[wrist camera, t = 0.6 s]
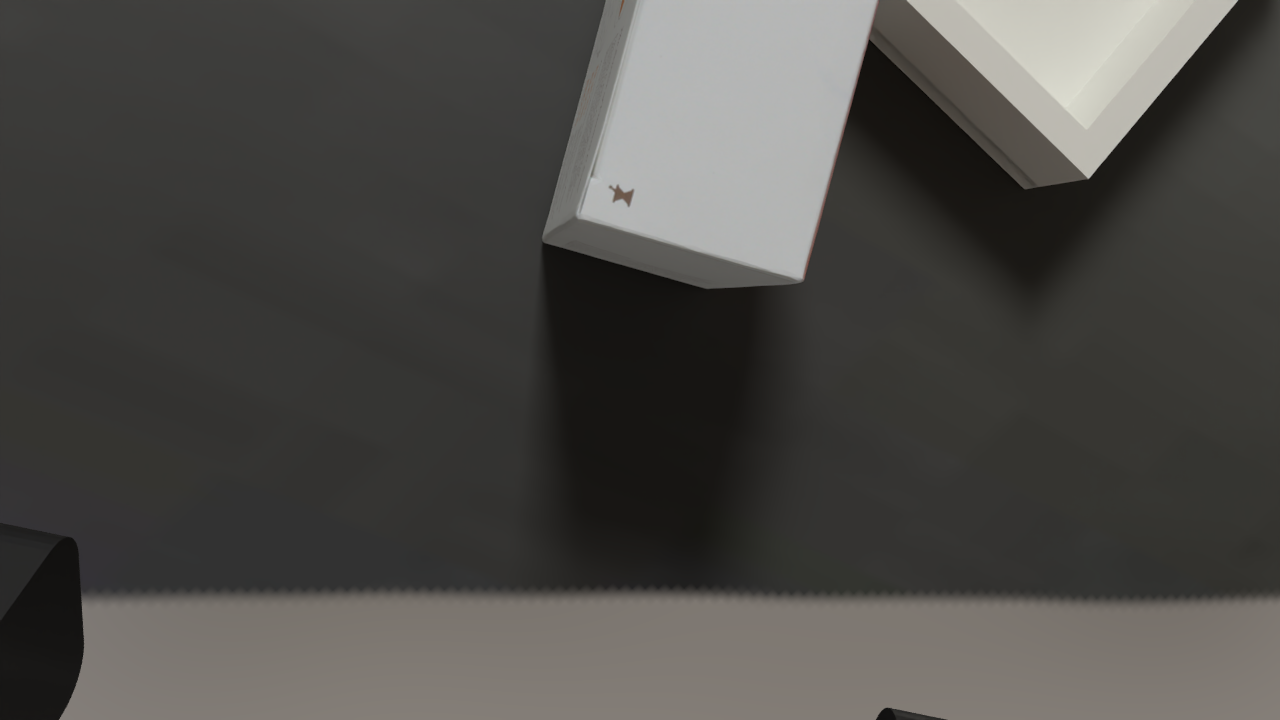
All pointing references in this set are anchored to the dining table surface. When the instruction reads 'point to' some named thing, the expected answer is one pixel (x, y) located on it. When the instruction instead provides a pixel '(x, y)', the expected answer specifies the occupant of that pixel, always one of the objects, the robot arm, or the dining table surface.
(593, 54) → the small box
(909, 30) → the tray
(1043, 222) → the dining table surface
